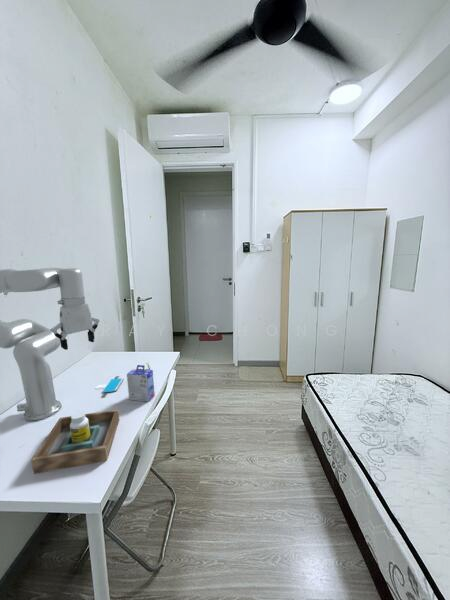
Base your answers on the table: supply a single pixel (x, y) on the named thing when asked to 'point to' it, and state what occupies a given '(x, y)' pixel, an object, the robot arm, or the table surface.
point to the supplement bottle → (79, 428)
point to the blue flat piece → (110, 386)
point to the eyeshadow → (148, 366)
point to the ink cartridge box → (140, 384)
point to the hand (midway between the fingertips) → (78, 345)
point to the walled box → (66, 454)
